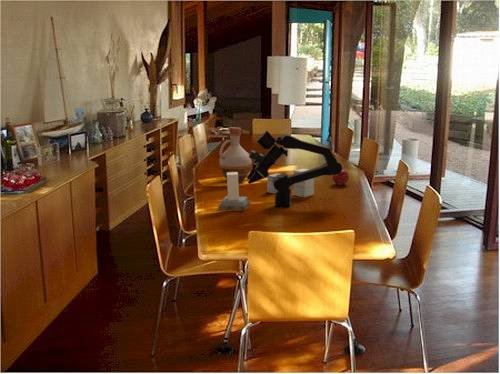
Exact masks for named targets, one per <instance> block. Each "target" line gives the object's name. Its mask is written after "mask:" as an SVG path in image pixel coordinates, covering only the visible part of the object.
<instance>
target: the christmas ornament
mask: <svg viewBox="0 0 500 374" xmlns="http://www.w3.org/2000/svg"><path fill="white" fill-rule="evenodd" d="M349 175H350V174H349V172H348V171H347V170H345V169H343V168H342V171H341V173H339V174H337V175H332V180H333V183H335V184H336V185H338V186H343V185H345V184H347V182H349V178H350V177H349Z"/></svg>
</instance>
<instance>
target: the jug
mask: <svg viewBox="0 0 500 374" xmlns="http://www.w3.org/2000/svg"><path fill="white" fill-rule="evenodd" d="M241 130H242V128H241V127H235V126H233V127H232V126H230V127H228V131H229V132H228V135H229V138H230V139H226V140H225V141H224V142H223V143H222V144H221V146H220V149H219V161H218V162H219V169H220V171H221V174H222V176H224V178H225V179H226V180H227V172H238V184H239V183H243V182H244V180H246V179H247V177H248V175H249V173H250V172H251V168H252V163H253V161H252V159H251V158H249V155H250V153H249V152H247V151H246V150H245V149H244V148H243V147H242V146H241V144H240V137H241ZM229 143H230V145H229V146H228V147H227V149H226V150H225V151H224V152H223V150H224V148H225V146H226V145H227V144H229Z"/></svg>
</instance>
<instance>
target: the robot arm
mask: <svg viewBox="0 0 500 374" xmlns="http://www.w3.org/2000/svg"><path fill="white" fill-rule="evenodd" d="M255 142H256V143H257V144H258V145H259V146H260V147H262V148H263V149H264V150H268V151H267V152H266V153H265V152H264V153H263V154H262V153H260V152H258V151H255V150H253V149H252V150H250V153H249V158H251V160H253V161H252V167H251V168H252V169H250V171H249V174H248V175H247V177H246V179H247V180H248V181H247V183H248V184H249V185H251V184H253V183H256V182H258V181H261V180H264V179H267V177H268V176H269V173H270V172H269V171H270V168H271V167H272V166H273V165H276V162H277V161H278V160H280V158H281V157H282V156H283V155H284V156H285V157H288V155H289V154H288V153H289V151H288V149H289V150H303V151H306V152H309V153H314V154H318V155H322V156H323V158H324V160H325V162H324V163H322V165H320V166H317V167H314V168H310V170H307V171H303V172H300V173H296V174H294V173H293V174H287V173H286V172H283V173H278V174H280V175H278V174H277V176H276V177H274V179H273V181H272V183H273V186H274V188H275V189H276V190H277V193H275V195H274V204H275V207H277V208H290V207H291V205H292V202H291V199H292V195H291V193H292V189H291V188H290V187H292V186H294V184H296V183H299V182H302V181H306V180H309V179H312V178H314V179H315V178H318V177H322V176H333V175H337V174H339V173H341V171H342V169H343V166H342V164H341V163H340V162H339V161H337V159H336V157H335V156H334V154H333V153H332V152H333V151H332V149H331V148H330V147H328V146H326V145H320V144H317V143H313V142H308V141H304V140H301V139H299V138H297V137H295V136H293V135H291V134H288V133H286V134H283V135H281V136H278V137H274V136H272V135H271V133H270V132H269V130H265V132H263V133H261V134H260V135H259V136H258V137H257V139H256V140H255Z"/></svg>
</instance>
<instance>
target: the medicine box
mask: <svg viewBox="0 0 500 374" xmlns="http://www.w3.org/2000/svg"><path fill="white" fill-rule="evenodd" d="M277 174H278V175H280V174H281V173H279V172H278V173H274V174H273V173H272V174H270V175H269V176H268V177H267V178H266V179H267V193H269V194H276V193H277V190H276V189H275V188H274V186H273V183H272V181H273V179H274V177H276V176H277Z"/></svg>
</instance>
